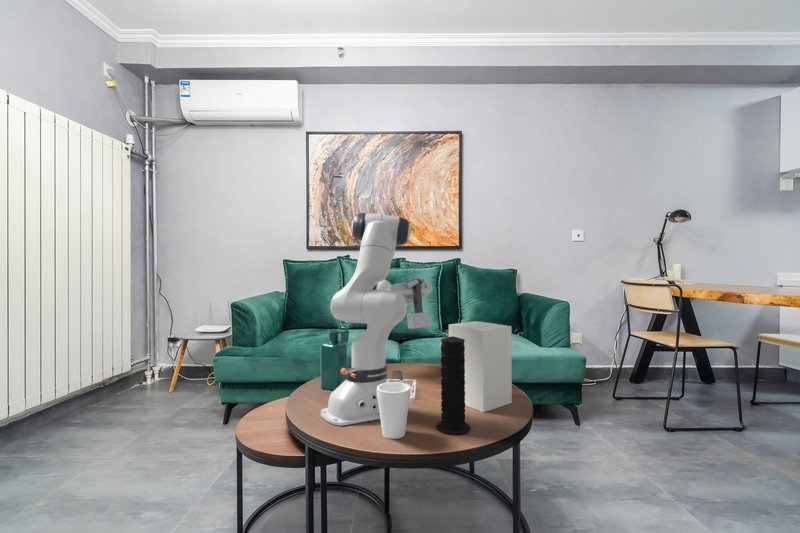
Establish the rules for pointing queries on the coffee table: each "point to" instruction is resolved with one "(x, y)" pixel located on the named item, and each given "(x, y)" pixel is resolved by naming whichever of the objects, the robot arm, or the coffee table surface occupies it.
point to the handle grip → (453, 387)
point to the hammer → (418, 310)
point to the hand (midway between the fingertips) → (420, 280)
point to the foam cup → (393, 408)
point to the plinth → (486, 363)
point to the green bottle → (333, 359)
